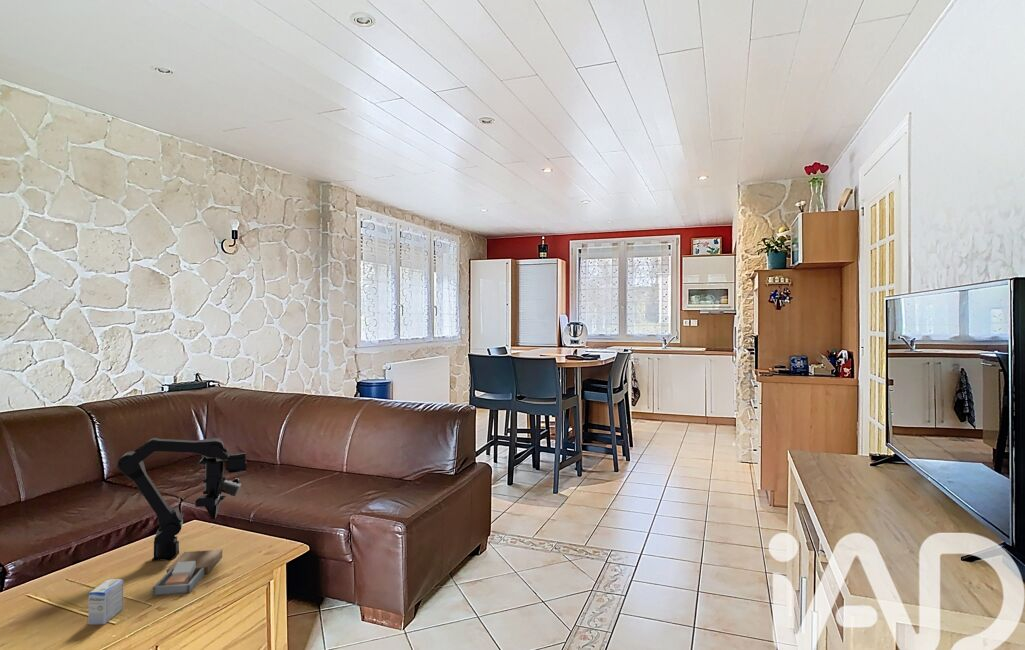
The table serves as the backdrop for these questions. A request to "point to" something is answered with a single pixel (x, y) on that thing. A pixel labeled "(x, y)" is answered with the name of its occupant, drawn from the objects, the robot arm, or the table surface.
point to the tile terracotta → (178, 579)
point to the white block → (185, 568)
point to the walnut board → (200, 560)
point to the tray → (177, 589)
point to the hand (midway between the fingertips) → (213, 518)
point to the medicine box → (105, 601)
